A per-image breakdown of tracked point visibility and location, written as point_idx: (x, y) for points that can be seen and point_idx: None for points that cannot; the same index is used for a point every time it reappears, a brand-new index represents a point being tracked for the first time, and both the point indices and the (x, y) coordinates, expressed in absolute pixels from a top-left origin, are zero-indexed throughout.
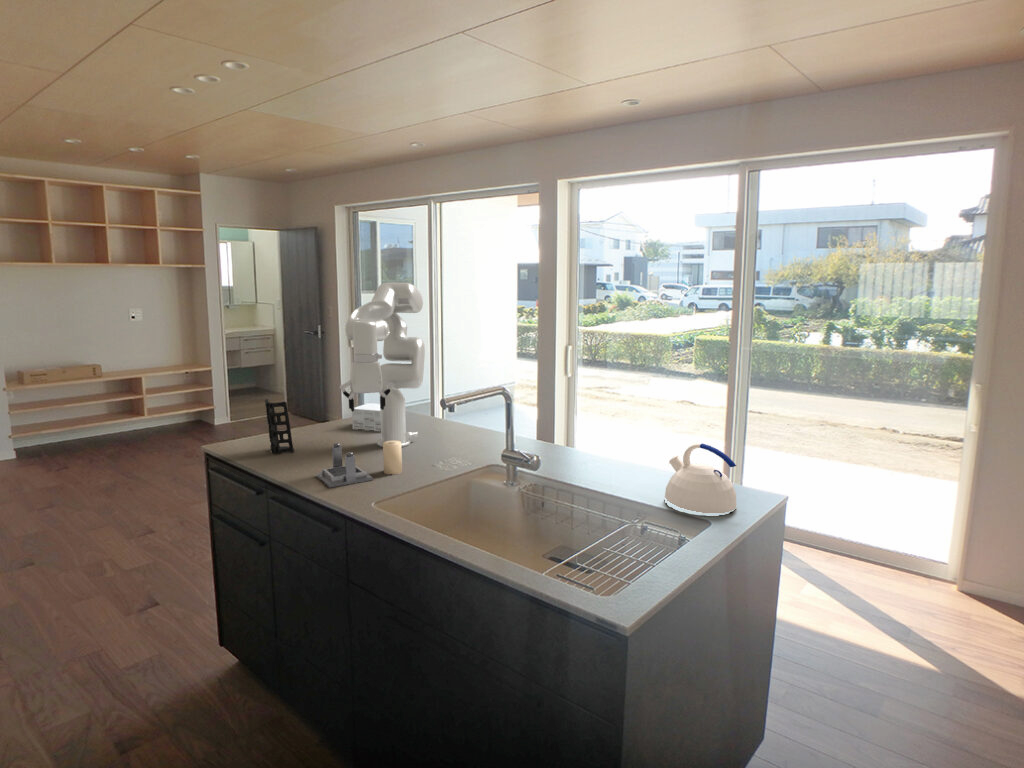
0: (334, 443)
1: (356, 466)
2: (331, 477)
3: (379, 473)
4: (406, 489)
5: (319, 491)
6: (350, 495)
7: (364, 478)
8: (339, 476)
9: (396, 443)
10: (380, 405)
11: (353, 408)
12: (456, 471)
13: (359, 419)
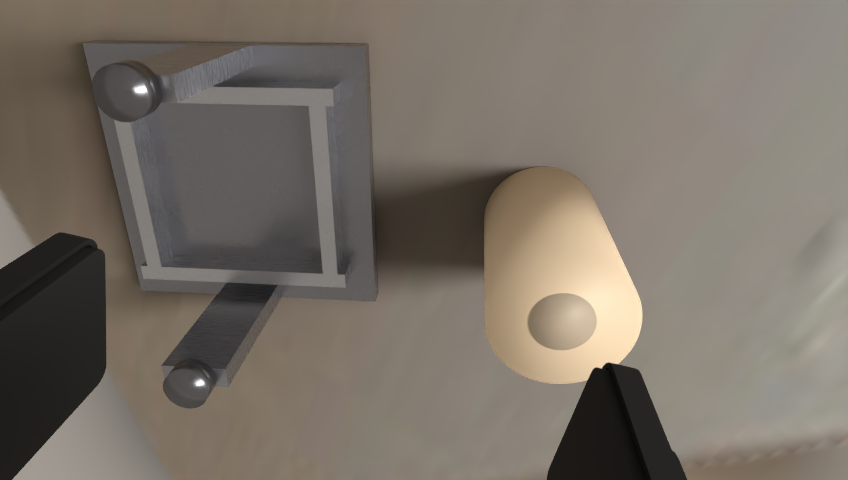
0: (101, 72)
1: (322, 151)
2: (143, 270)
3: (456, 204)
4: (465, 472)
5: None
6: (225, 412)
7: (329, 296)
8: (187, 278)
9: (581, 355)
10: (591, 428)
11: (65, 411)
12: (831, 400)
13: None
